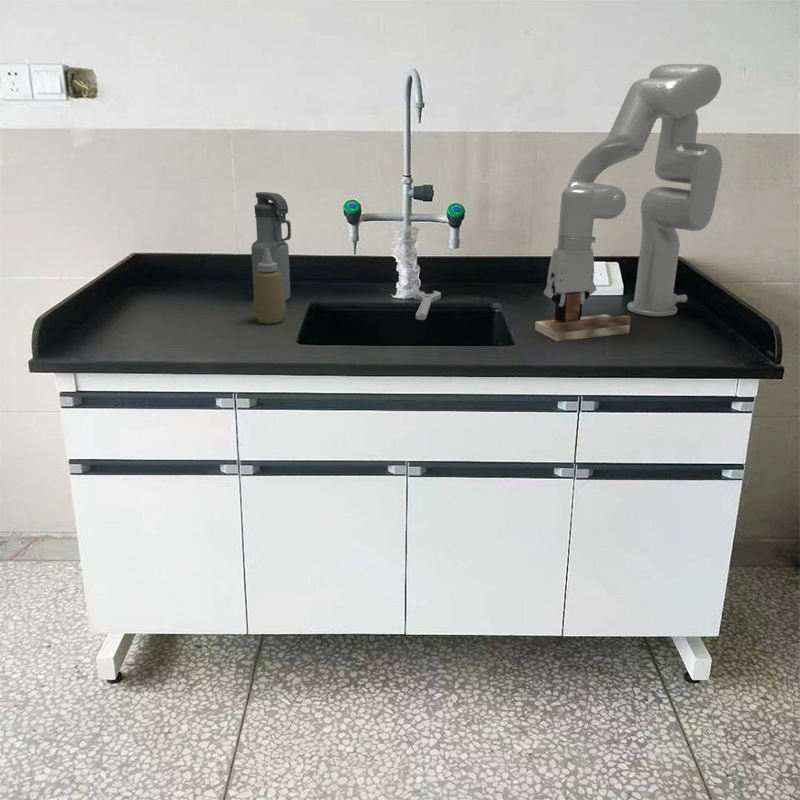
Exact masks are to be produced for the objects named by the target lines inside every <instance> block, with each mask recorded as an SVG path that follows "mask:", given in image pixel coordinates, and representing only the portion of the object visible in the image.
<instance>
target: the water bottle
mask: <svg viewBox="0 0 800 800" xmlns="http://www.w3.org/2000/svg"><path fill="white" fill-rule="evenodd" d="M255 198H257V199H256V200H257V201H256V202H257V203H256V204H255V205H254V215H255V216H254V218H255V224H256V240H255V241H254V242H253V243H252V245H251V249H250V250H251V266H252V281H253V282H252V284H253V287H254V280H255V273H257V272H258V263H261V262H262V260H263V254H264V248H269V250H270V253H271V257H272V261H273V262H276V263H277V271H278V272H280V273H281V275H282V282H283V289H284V296H285V302H287V301H288V300H289V299H290V298H291V281H290V280H291V279H290V278H291V277H290V275H291V273H290V257H289V256H290V255H289V253H290V252H289V251H290V250H289V245H288V243H287V242H286V241H290V239H291V237H292V227H291V221H290V220H287V219H286V216H287V215H286V214H288V213H289V207H288V204H287V200H286V199H285V198H284V197H283V196H282V195H280V194H279V193H276V192H268V191H267V192H266V191H258V192H255ZM270 201H271V202H270ZM282 224H286V225H287V235H286V237H284V238H283V234H282V233H283V232H282V229H283V228H282V227H283V226H282Z"/></svg>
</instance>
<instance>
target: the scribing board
mask: <svg viewBox="0 0 800 800" xmlns="http://www.w3.org/2000/svg"><path fill="white" fill-rule="evenodd" d="M631 321H632V317H631V316H630V315H627V314H625V315H616V316H611V315H609V314H597V315H596V314H595V315H588V316H587V315H585V316H581V319H580V320H577V321H568V322H559V323H557V321H555V320H553V319H550V320H549V319H546V320H538V321H535V326H534V330H535V331H537V332H539V333H540V334H542V335H544V336H546V337H547V338H550V339H552V340H553V341H555V342H565V341H572V340H573V341H574V340H581V339H589V338H591V339H592V338H599V337H606V336H615V335H623V334H624V335H626V334H629V333H630V328H631Z"/></svg>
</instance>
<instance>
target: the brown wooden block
mask: <svg viewBox="0 0 800 800" xmlns="http://www.w3.org/2000/svg"><path fill="white" fill-rule="evenodd" d="M580 299H581V293H580V292H576V293H566V297H565V302H564V306H565V307H566V310H565V321H564V322H568V321H577V320H579V309H580ZM552 320H555V312H553V319H552ZM555 321H556V320H555ZM557 323H559V322H558V321H557Z"/></svg>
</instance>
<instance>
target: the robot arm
mask: <svg viewBox="0 0 800 800" xmlns="http://www.w3.org/2000/svg"><path fill="white" fill-rule="evenodd" d="M648 75H649V76H648V78H641V79H638V80H636V81H635V82H634V83H632V84H631V86H630V88H629V90H628V91H627V93H626V96H625V98H624V100H623V102H622V105H621V108H620V109H619V112H618V113H617V116H616V118H615V120H614V123H613V124H612V127H611V129H610V131H609V133H608V135H607V137H606V138H605V139H604V140H602V141H601V142H600V143H598V144H597V145H596V146H594V147H593V148H592V149H590V151H589V152H587V154H586V155H585V156H584V157H583V158H582V159H581V160H580V161H579V162H578V164H577V165H576V166H575V168H574V171H573V173H572V175H571V177H570V179H569V182H568V184H567V187H566V188H565V189H563V191H562V193H561V200H560V209H559V210H560V212H559V213H560V214H559V221H558V224H559V225H558V235H557V236H558V237H557V247H556V248H555V247H554V248H553V251H552V255H551V257H550V262H549V265H548V266H549V267H548V271H547V272H548V273H547V278H546V279H547V280H546V287H545V289H544V290H543V295H545V296H546V297H547V298H549V299H550V300H551V301H552V302H553V304H554V305H555V308H554V313H555V320H556V321H558V322H564V321H565V310H566V307H565V306H564V302H565V297H566V293H576V292H580V293H581V299H580V309H579V320H580V319H581V317H582V313H583V305H584V304H585V303H586V300H588V298H589V297H590V295H592V294H593V293H595V292H596V291H597V287H596V285H595V282H594V278H595V277H594V276H595V261H594V260H595V257H594V256H595V255H594V250H593V248H592V244H593V243H595V242H596V237H595V236H593V231H594V220H597V219H598V220H611V219H614V218H617V217H618V216H620V215H621V214H623V212H624V210H625V208H626V205H627V197H626V194H625V192H624V191H623V190H622V189H621V188H620V187H617V186H615V185H612V184H611V185H610V184H602V183H596V182H595V181H596V179H597V178H598V177H599V176H600V174H602V172H604V171H605V170H606V169H608V168H610V167H612V166H613V165H616V164H619V163H621V162H623V161H626V160H629V159H632V158H633V157H634V158H635V157H636V156H638V155H640V154H641V153H642V152H643V150H644V148H645V145H646V143H647V141H648V139H649V136H650V135H651V133H652V130H653V127H654V125H655V123H656V121H657V119H661V126H660V127H661V128H660V133H659V134H660V135H659V140H658V145H657V150H656V157H655V163H654V164H655V165H654V172H655V175H656V177H657V178H658V179H660V180H662V181H666V182H672V183H680V184H689V185H690V187H689V188H690V189H685V188H679V187H672V186H671V187H670V186H656V187H654V188H651V189H649V190H647V192H646V193H645V194H644V196H643V198H642V201H641V206H640V214H641V239H640V248H639V249H640V250H639V258H638V264H637V274H636V283H635V292H634V296H633V297H634V299H633V301H630V302H628V303H627V307H626V309H627V310H628V311H629V312H631V313H634V314H638V315H642V316H648V317H669V316H674V315H675V314H678V307H677V306H676V304H678V303H685V302H687V301H688V296H687V295H686V294H678V295H677V293H674V289H675V282H676V274H677V267H678V261H679V253H680V246H681V245H680V239H679V234H678V232H677V231H676V229H678V230H685V231H692V232H693V231H694V232H698V231H703V229H705V228H706V227H707V226H708V225H709V222H710V221H711V220H712V217H713V216H712V215H713V213H714V209H715V204H716V198H717V195H718V194H717V193H718V189H719V184H720V183H719V182H720V178H721V173H722V167H723V162H722V161H723V160H722V154H721V152H720V151H719V149H718V148H717V147H716V146H714V145H713V144H708V143H700V142H699V143H697V134H698V127H699V117H698V113H697V110H699V109H701V108H703V107H706V106H707V105H708V104H710V103H711V102H713V100H714V99H716V97H717V95H718V93H719V91H720V89H721V85H722V77H721V73H720V70H719V68H717V67H716V66H714V65H712V64H708V63H707V64H705V63H700V64H697V63H696V64H694V63H692V64H691V63H690V64H689V63H687V64H686V63H685V64H684V63H670V64H668V63H667V64H662V65H659V66H656V67H654V68H653V69H652V70H651V71H650V73H649V74H648ZM554 291H555V292H554ZM553 292H554V293H553Z"/></svg>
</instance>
